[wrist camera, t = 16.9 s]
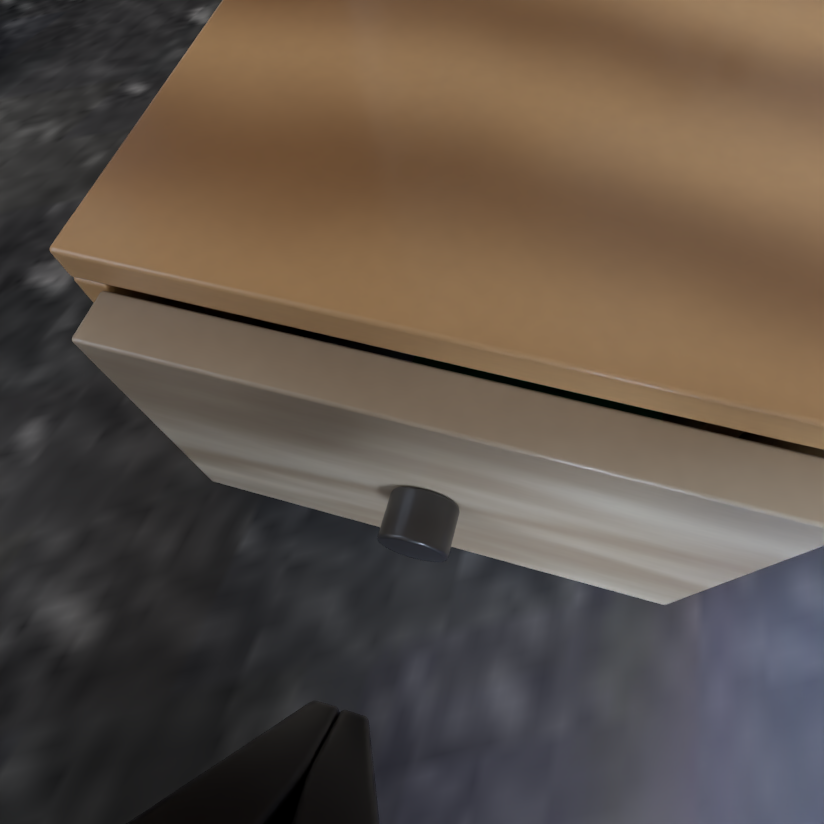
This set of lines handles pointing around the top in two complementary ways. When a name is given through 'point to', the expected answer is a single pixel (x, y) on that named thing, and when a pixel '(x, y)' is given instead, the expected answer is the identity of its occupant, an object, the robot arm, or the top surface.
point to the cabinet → (498, 193)
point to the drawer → (460, 454)
